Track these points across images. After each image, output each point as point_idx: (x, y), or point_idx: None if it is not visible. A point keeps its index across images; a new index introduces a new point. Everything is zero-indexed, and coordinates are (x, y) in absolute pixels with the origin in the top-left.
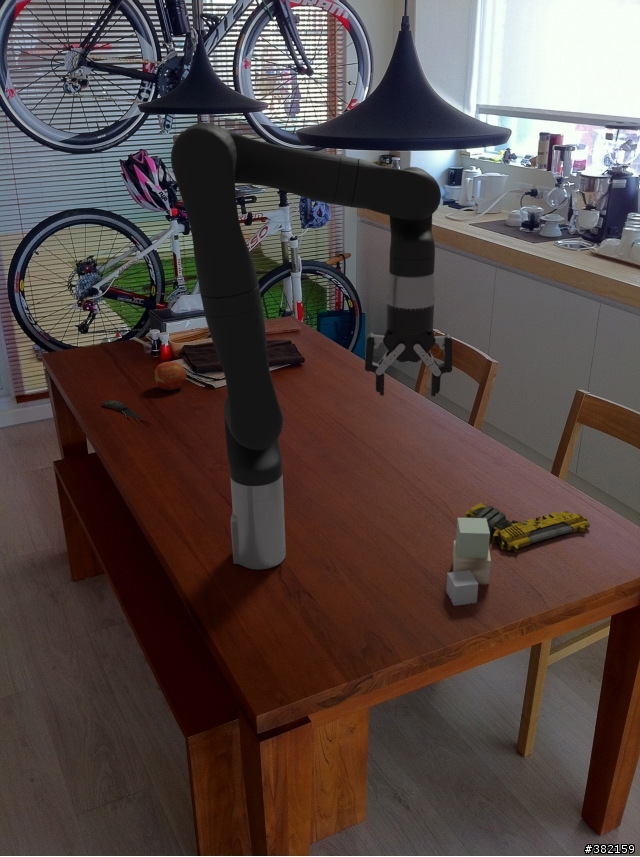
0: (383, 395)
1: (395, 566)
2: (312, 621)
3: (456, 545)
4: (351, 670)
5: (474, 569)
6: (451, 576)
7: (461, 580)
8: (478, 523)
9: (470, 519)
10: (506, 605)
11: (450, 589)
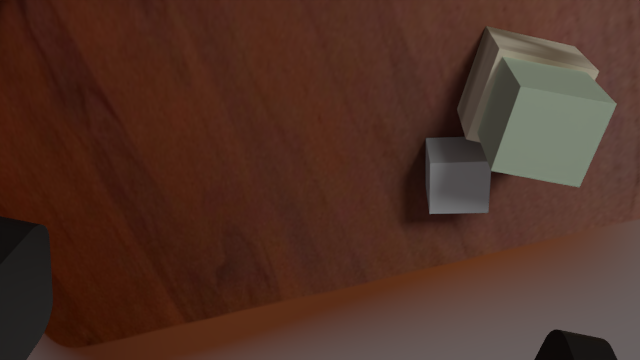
0: (46, 314)
1: (326, 19)
2: (121, 187)
3: (495, 76)
4: (195, 307)
5: None
6: (434, 178)
7: (453, 196)
8: (573, 129)
9: (559, 103)
10: (541, 201)
11: (427, 174)
